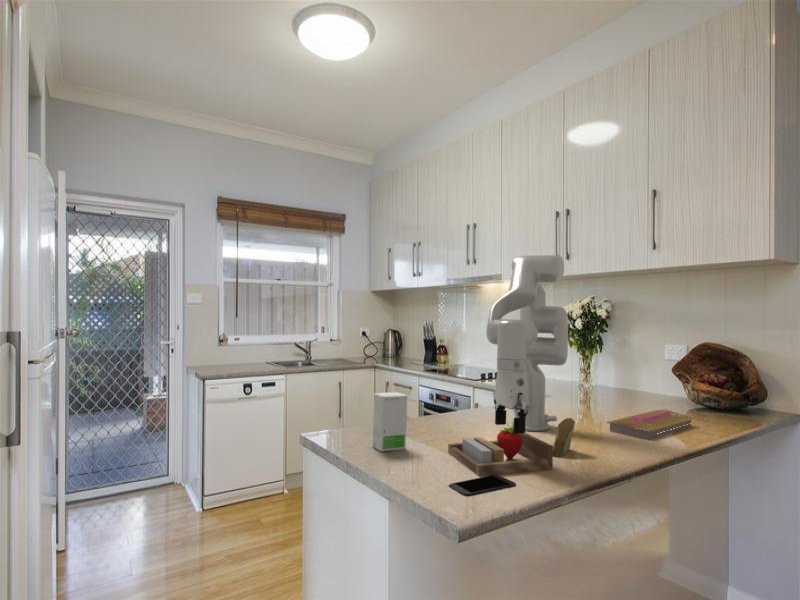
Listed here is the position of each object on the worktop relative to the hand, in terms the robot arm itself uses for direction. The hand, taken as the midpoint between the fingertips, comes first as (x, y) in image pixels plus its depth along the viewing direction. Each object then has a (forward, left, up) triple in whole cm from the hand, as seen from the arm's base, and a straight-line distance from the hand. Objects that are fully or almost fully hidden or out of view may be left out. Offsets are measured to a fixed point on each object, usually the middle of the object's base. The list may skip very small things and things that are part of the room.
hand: (509, 428), depth 127 cm
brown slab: (-68, -19, -9) cm, 72 cm away
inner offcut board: (+6, 0, -9) cm, 11 cm away
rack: (+3, 0, -9) cm, 9 cm away
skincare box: (+29, -18, -9) cm, 35 cm away
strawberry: (0, 0, -9) cm, 9 cm away
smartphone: (+16, +15, -9) cm, 23 cm away
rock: (-18, -3, -9) cm, 21 cm away
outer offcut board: (+10, 0, -9) cm, 13 cm away
